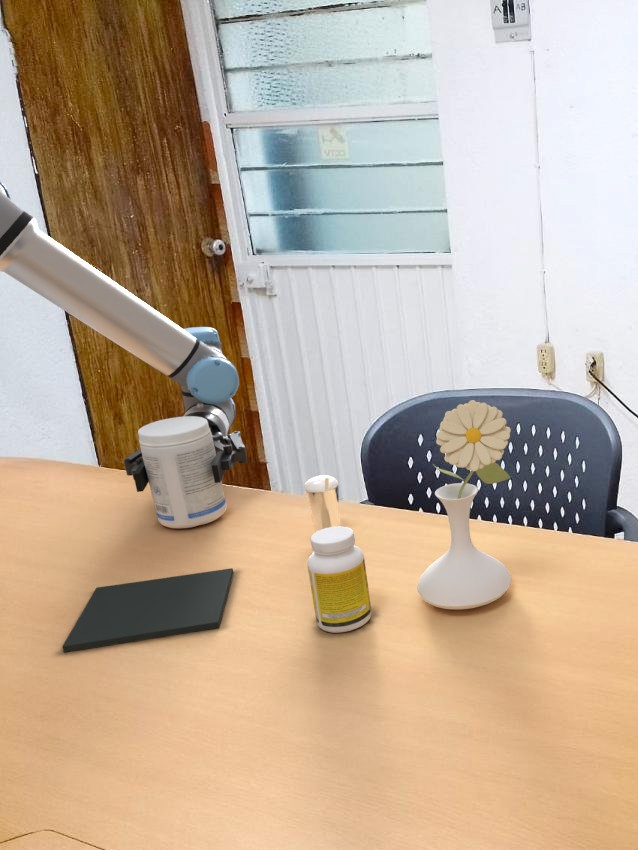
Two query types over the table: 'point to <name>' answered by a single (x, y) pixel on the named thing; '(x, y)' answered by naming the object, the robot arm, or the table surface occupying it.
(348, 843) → the table surface
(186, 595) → the mat
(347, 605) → the pill bottle
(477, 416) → the flower in vase
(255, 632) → the table surface
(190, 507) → the supplement tub
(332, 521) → the milkshake
